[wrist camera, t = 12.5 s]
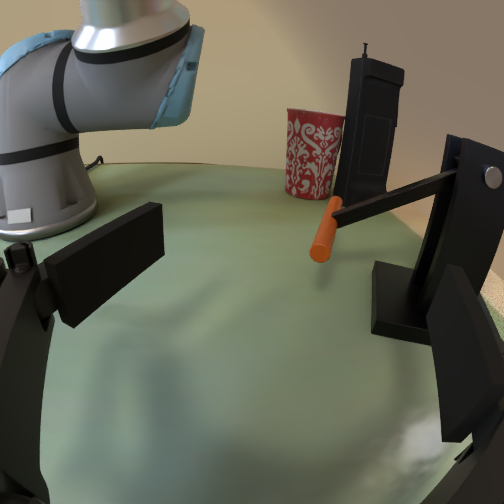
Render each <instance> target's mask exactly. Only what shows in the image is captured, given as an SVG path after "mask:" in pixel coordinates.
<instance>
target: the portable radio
mask: <svg viewBox="0 0 504 504" xmlns="http://www.w3.org/2000/svg"><path fill="white" fill-rule="evenodd" d="M363 44H364V53H363V54H362V58H356V59H352V61H351V70H350V81H349V90H348V100H347V109H346V117H345V125H344V132H343V139H342V146H341V153H340V159H339V165H338V171H337V176H336V182H335V187H334V191H333V196H338V197H340V198H341V199H342V201H343V204H342V205H343V206H345V207H349V206H351V205H354V204H357V203H359V202H362V201H365V200H368V199H370V198H373V197H376V196H379V195H381V194H384V193H387V191H386V181H387V176H388V170H389V165H390V159H391V153H392V146H393V140H394V133H395V127H397V118H398V102H399V92H400V88H401V86H403V82H404V70H403V69H401V68H399V67H396V66H392V65H390V64H387V63H384V62H381V61H378V60H375V59H371V58H367V54H366V48H367V45H368V44H367V43H363Z"/></svg>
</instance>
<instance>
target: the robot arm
mask: <svg viewBox="0 0 504 504" xmlns="http://www.w3.org/2000/svg"><path fill="white" fill-rule="evenodd" d="M79 4H80V8H81V13H82V18H83V20H82V22H81V23H80V25H79V26H78V28H77V29H76V31H74V30H54V31H52V32H49V33H40V34H36V35H33V36H31V37H28V38H26V39H24V40H21V41H20V42H18V43H16V44H14V45H12V46H11V47H10V48H8V49H7V50H6V51H5V52H4V53H3V54H2V56H1V57H0V239H3V240H6V241H14V242H18V243H15V244H12V245H11V246H9V247H7V248H6V249H5V250H4V254H5V257H6V261H7V264H8V267H9V269H6V267H5V264H4V260H3V259H2V258H1V257H0V504H50V498H49V492H48V488H47V485H46V482H45V480H44V478H43V476H42V474H41V471H40V425H41V410H42V399H43V389H44V381H45V373H46V366H47V360H48V354H49V348H50V342H51V337H52V332H53V327H54V322H55V320H54V316H53V313H54V312H55V311H56V310H58V312H59V314H60V317H61V320H62V322H63V323H65V324H67V325H69V326H70V327H72V328H75V327H76V326H78V325H79V324H80V323H81V322H82V321H83V320H85V319H86V318H87V317H88V316H89V315H91V314H92V313H93V312H94V311H95V310H96V309H98V308H99V307H100V306H101V305H102V304H104V303H105V302H106V301H107V300H109V299H110V298H111V297H112V296H113V295H115V294H116V293H117V292H118V291H120V290H121V289H122V288H123V287H124V286H126V285H127V284H128V283H129V282H131V281H132V280H133V279H134V278H136V277H137V276H138V275H139V274H141V273H142V272H143V271H144V270H146V269H147V268H148V267H150V266H151V265H152V264H153V263H155V262H156V261H157V260H159V259H160V258H161V257H162V256H164V255H165V251H164V235H163V214H162V204H160V203H154V202H148V203H146V204H144V205H142V206H140V207H138V208H136V209H134V210H132V211H130V212H128V213H126V214H124V215H122V216H120V217H119V218H117V219H115V220H113V221H111V222H109V223H107V224H105V225H103V226H102V227H100V228H98V229H96V230H94V231H92V232H91V233H89V234H87V235H85V236H83V237H82V238H80V239H78V240H76V241H75V242H73V243H71V244H69V245H68V246H66V247H64V248H62V249H61V250H59V251H57V252H56V253H54V254H52V255H51V256H49V257H47V258H46V259H44V260H43V262H42V263H40V264H37V260H36V257H35V253H34V248H33V244H32V243H31V242H28V241H30V240H36V239H41V238H45V237H49V236H53V235H56V234H59V233H62V232H64V231H67V230H69V229H72V228H74V227H76V226H78V225H80V224H82V223H83V222H85V221H87V220H88V219H89V218H90V217H92V216H93V215H94V214H95V212H96V210H97V200H96V196H95V191H94V188H93V186H92V184H91V181H90V179H89V176H88V174H87V170H89V169H90V168H92V167H93V166H95V165H96V164H97V163H98V162H99V160H100V163H104V162H103V158H102V156H98V157H97V159H96V161H95V162H93V163H92V164H90V165H88V166H87V167H85V166H84V164H83V161H82V159H81V156H80V152H79V133H84V132H94V131H108V130H126V129H155V128H157V127H169V126H177V125H180V124H182V123H183V122H185V121H186V120H187V119H188V117H189V115H190V112H191V106H192V99H193V93H194V88H195V82H196V75H197V70H198V64H199V58H200V54H201V48H202V43H203V37H204V33H205V30H204V28H202V27H199V26H197V25H192V26H190V23H189V22H190V21H189V20H190V19H189V16H190V15H189V11H188V9H187V8H186V7H185V6H184V5H182V4H181V3H179V2H178V1H176V0H79ZM19 241H22V242H19ZM426 320H427V325H428V330H429V335H430V341H431V346H432V352H433V358H434V365H435V372H436V379H437V387H438V396H439V407H440V419H441V435H442V442H456V443H461V442H462V441H463V440H464V439H465V438H466V437H467V436H468V435H469V434H470V433H471V432H472V440H473V442H472V443H471V444H470V445H469V446H468V447H467V448H466V449H465V450H463V451H462V452H461V453H460V454H459V455H458V456H457V457H456V458H454V460H455V461H456V460H457V461H456V463H455V464H454V465H453V466H452V468H451V469H450V470H449V471H448V473H447V474H446V475H445V476H444V477H443V479H442V480H441V481H440V482H439V483H438V485H437V486H436V487H435V488H434V489H433V490H432V491H431V492H430V494H429V495H428V496H427V497H426V498H425V499H424V500H423V501H422V502H421V503H420V504H504V341H503V340H502V339H501V338H500V336H499V335H498V334H495V333H493V331H492V329H491V327H490V324H489V322H488V320H487V317H486V315H485V313H484V311H483V308H482V306H481V304H480V302H479V300H478V298H477V296H476V294H475V292H474V289H473V287H472V285H471V283H470V282H469V280H468V278H467V276H466V274H465V272H464V270H463V268H462V267H459V266H455V265H451V264H447V266H446V268H445V271H444V274H443V276H442V279H441V282H440V284H439V287H438V289H437V292H436V294H435V296H434V299H433V301H432V304H431V306H430V308H429V311H428V313H427V315H426Z"/></svg>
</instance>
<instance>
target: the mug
mask: <svg viewBox="0 0 504 504" xmlns="http://www.w3.org/2000/svg"><path fill="white" fill-rule="evenodd" d="M287 112H288V128H287V155H286V179H285V191H286V192H287V193H288V194H290V195H292V196H295V197H299V198H303V199H311V200H321V199H326V198H328V197H329V194H330V189H331V185H332V179H333V175H334V170H335V165H336V159H337V155H338V153H339V149H340V146H341V142H342V128H343V123H344V120H345V117H346V116H344V115H339V114H333V113H327V112H320V111H312V110H305V109H295V108H287Z"/></svg>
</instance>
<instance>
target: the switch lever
mask: <svg viewBox="0 0 504 504" xmlns="http://www.w3.org/2000/svg"><path fill="white" fill-rule="evenodd" d="M459 159H460V154H459V155H456V156H454V161H455V164H456V167H457V168H454V169H451V170H448V171H446V172H443V173H440V174H437V175H434V176H432V177H429V178H426V179H423V180H420V181H418V182H415V183H412V184H409V185H406V186H404V187H401V188H398V189H395V190H393V191H390V192H387V193H384V194H381V195H379V196H376V197H373V198H370V199H368V200H365V201H362V202H359V203H357V204H354V205H351V206H349V207H346V208H343V209H341V208H342V204H343V201H342V199H341V198H340V197H338V196H333V197H332V198H331V199H330V201H329V203H328V206H327V208H326V211H325V214H324V216H323V219H322V221H321V224H320V226H319V229H318V231H317V234H316V236H315V239H314V241H313V244H312V246H311V248H310V256H311V258H312V259H313V260H314V261H315V262H318V263H322V262H325V261H327V260H328V259H329V257H330V254H331V250H332V246H333V242H334V238H335V234H336V230H337V229H338V228H340V227H343V226H346V225H349V224H352V223H355V222H358V221H360V220H363V219H366V218H369V217H372V216H375V215H377V214H380V213H383V212H386V211H389V210H392V209H395V208H397V207H400V206H403V205H406V204H409V203H411V202H414V201H417V200H420V199H423V198H425V197H428V196H431V195H434V194H437V193H440V192H442V191H445V190H448V189H451V188H453V187H454V183H455V178H456V174H457V169H458V164H459Z"/></svg>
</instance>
